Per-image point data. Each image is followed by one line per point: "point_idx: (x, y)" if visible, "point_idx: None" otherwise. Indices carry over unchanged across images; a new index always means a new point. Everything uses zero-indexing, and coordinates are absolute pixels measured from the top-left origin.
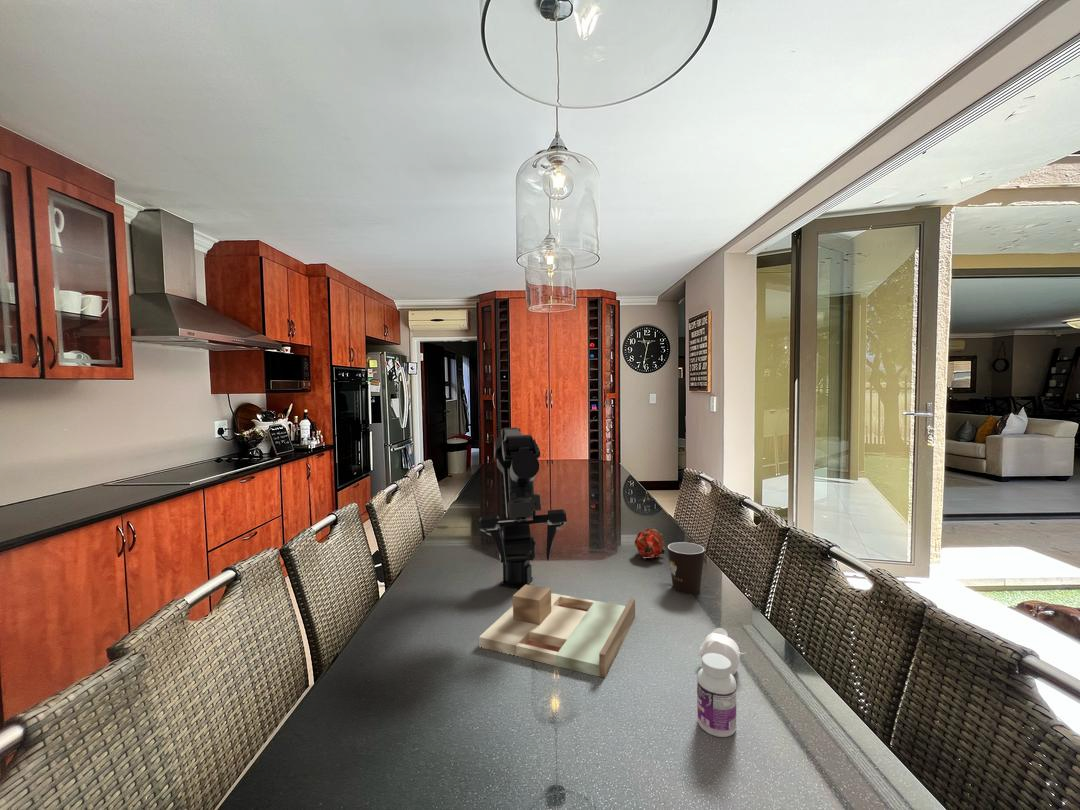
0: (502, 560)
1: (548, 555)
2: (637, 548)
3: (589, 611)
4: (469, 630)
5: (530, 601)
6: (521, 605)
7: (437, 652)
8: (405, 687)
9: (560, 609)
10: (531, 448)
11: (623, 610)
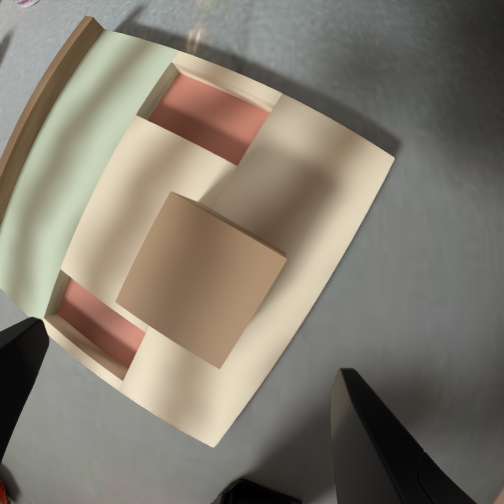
0: (365, 382)
1: (15, 329)
2: (2, 499)
3: (55, 268)
4: (415, 263)
5: (209, 212)
6: (251, 235)
7: (475, 165)
8: (490, 65)
9: None
10: None
11: None
